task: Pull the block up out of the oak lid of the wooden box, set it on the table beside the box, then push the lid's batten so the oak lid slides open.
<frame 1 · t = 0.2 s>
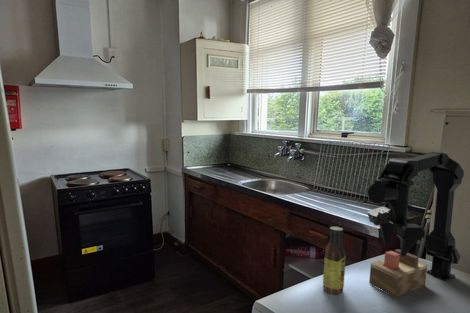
hand: (394, 249, 94), 14 cm above the countertop, tool pointing down, fingers open, 9 cm apart
sauce bottle: (332, 290, 95), on the countertop
block: (390, 277, 98), point 3 cm above the countertop, touching wooden box
lid: (399, 261, 99), point 8 cm above the countertop, slide at 0.0 cm
wooden box: (397, 284, 100), on the countertop
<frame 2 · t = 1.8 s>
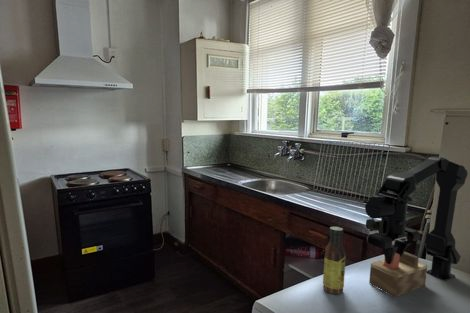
hand: (391, 262, 97), 8 cm above the countertop, tool pointing down, fingers closed on block, 3 cm apart
block: (390, 277, 98), point 3 cm above the countertop, touching gripper, wooden box
everything else where it was.
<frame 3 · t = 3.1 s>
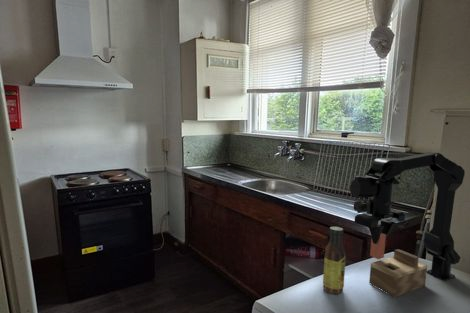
hand: (378, 242, 101), 13 cm above the countertop, tool pointing down, fingers closed on block, 3 cm apart
block: (376, 256, 101), point 8 cm above the countertop, touching gripper
everything else where it was.
when the fingers open (6 cm above the countertop, at t = 4.9 s): block drops 2 cm, on the countertop.
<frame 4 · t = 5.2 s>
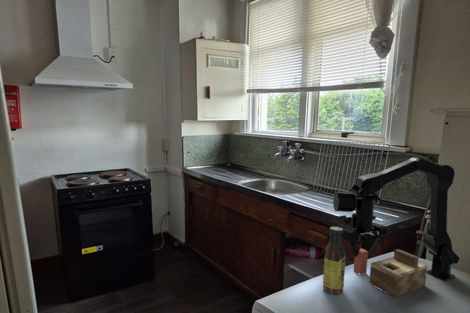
hand: (361, 254, 107), 6 cm above the countertop, tool pointing down, fingers open, 6 cm apart
block: (359, 271, 108), on the countertop
everything else where it was.
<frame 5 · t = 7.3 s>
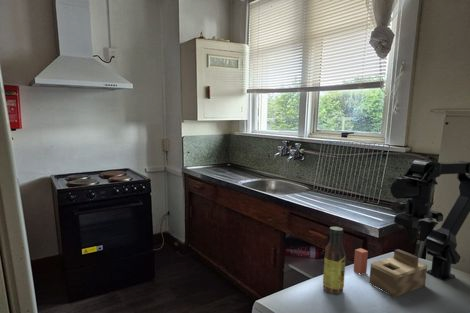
hand: (416, 242, 103), 13 cm above the countertop, tool pointing down, fingers open, 6 cm apart
nothing on the countertop moved.
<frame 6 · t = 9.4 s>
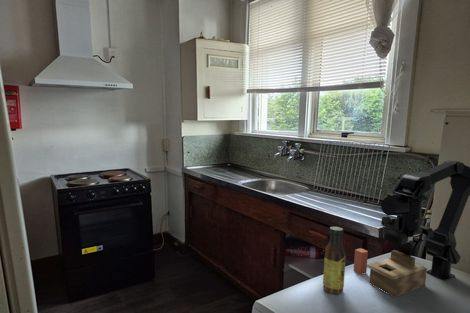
hand: (406, 258, 101), 8 cm above the countertop, tool pointing down, fingers closed
lid: (395, 262, 98), point 8 cm above the countertop, slide at 1.8 cm, touching gripper
everything else where it was.
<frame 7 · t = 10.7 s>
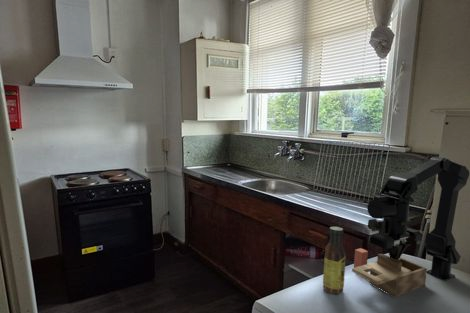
hand: (393, 262, 98), 8 cm above the countertop, tool pointing down, fingers closed
lid: (381, 266, 95), point 8 cm above the countertop, slide at 8.8 cm, touching gripper
everything else where it was.
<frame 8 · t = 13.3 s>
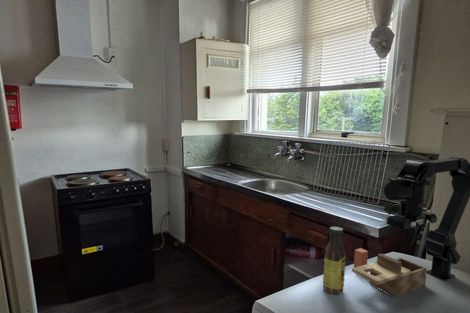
hand: (409, 244, 101), 13 cm above the countertop, tool pointing down, fingers closed
lid: (381, 266, 95), point 8 cm above the countertop, slide at 8.8 cm
everything else where it was.
at the end: lid slide at 8.8 cm; block inside the target area (0.5 cm from its centre), on the countertop; the gripper is holding nothing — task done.
